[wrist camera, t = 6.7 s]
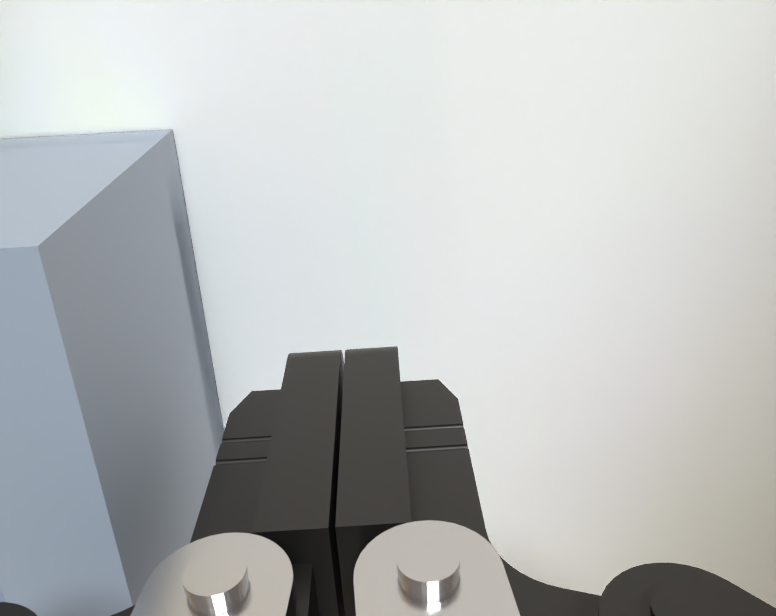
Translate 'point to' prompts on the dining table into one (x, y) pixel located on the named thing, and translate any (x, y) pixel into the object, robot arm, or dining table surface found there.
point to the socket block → (98, 370)
